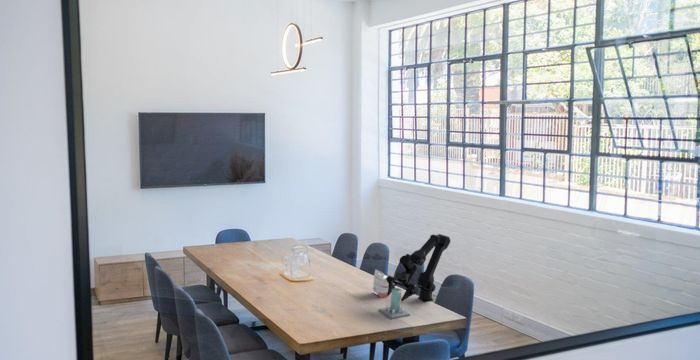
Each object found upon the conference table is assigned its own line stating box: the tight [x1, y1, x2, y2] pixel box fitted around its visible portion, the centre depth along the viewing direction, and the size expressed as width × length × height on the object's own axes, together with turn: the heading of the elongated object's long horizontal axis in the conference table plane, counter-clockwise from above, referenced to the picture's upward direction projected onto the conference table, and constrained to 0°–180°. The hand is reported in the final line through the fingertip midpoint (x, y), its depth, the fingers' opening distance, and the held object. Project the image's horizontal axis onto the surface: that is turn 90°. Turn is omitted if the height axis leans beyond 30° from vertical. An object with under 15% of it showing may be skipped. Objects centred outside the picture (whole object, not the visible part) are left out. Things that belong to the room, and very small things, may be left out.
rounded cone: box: [389, 287, 402, 313], centre depth 332 cm, size 5×5×12 cm
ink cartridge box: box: [372, 268, 389, 299], centre depth 355 cm, size 9×5×15 cm, turn 37°
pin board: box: [378, 304, 411, 320], centre depth 333 cm, size 12×12×4 cm
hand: (394, 298), depth 331 cm, fingers open, 9 cm apart
